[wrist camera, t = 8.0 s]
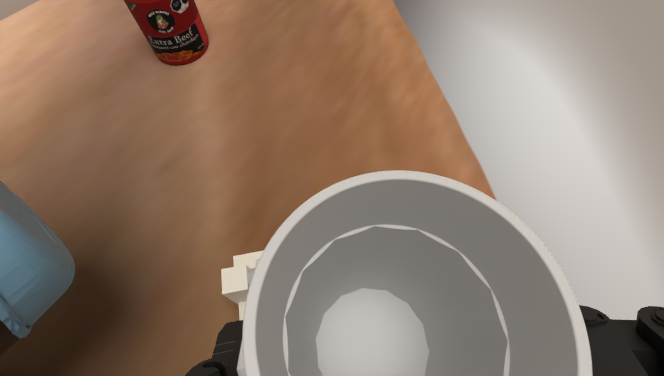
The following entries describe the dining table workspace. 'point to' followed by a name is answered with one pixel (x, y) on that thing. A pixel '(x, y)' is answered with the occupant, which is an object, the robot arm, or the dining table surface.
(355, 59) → the dining table surface
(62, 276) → the robot arm
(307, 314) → the cup
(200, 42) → the canned food
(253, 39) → the dining table surface
